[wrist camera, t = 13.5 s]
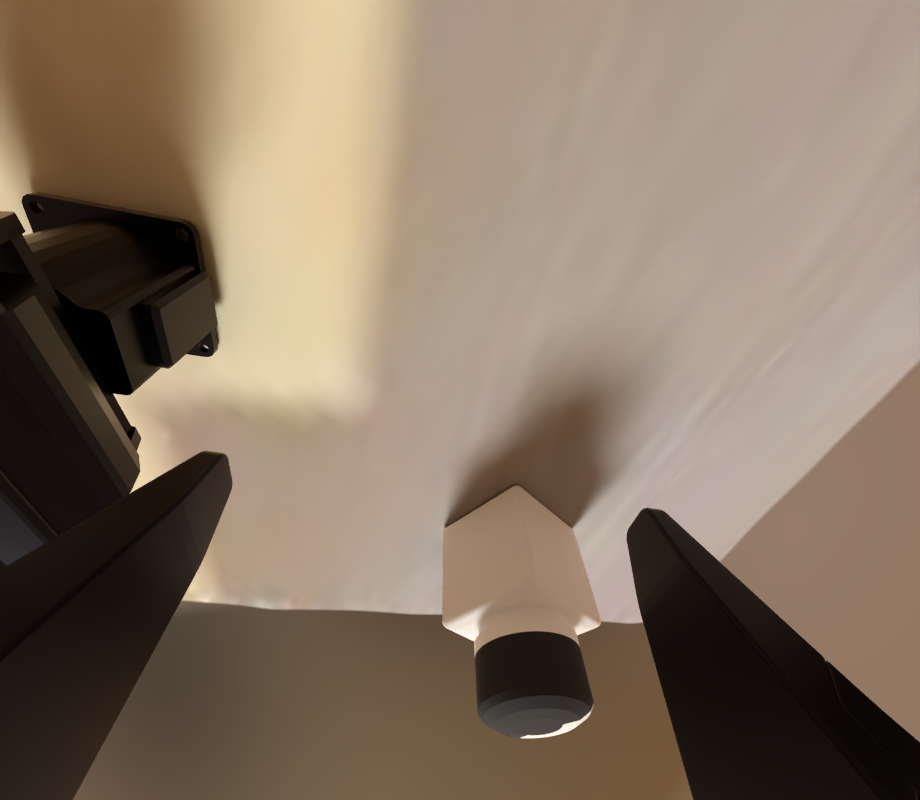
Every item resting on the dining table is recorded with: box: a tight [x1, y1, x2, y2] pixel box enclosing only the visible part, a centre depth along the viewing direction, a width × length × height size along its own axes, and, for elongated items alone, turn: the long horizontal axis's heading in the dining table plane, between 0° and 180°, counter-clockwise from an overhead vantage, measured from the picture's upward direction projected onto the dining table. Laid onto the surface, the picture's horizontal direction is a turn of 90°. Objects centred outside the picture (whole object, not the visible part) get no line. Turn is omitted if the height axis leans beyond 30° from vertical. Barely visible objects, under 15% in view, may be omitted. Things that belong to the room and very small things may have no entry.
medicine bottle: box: [442, 485, 601, 738], centre depth 25 cm, size 7×7×12 cm
